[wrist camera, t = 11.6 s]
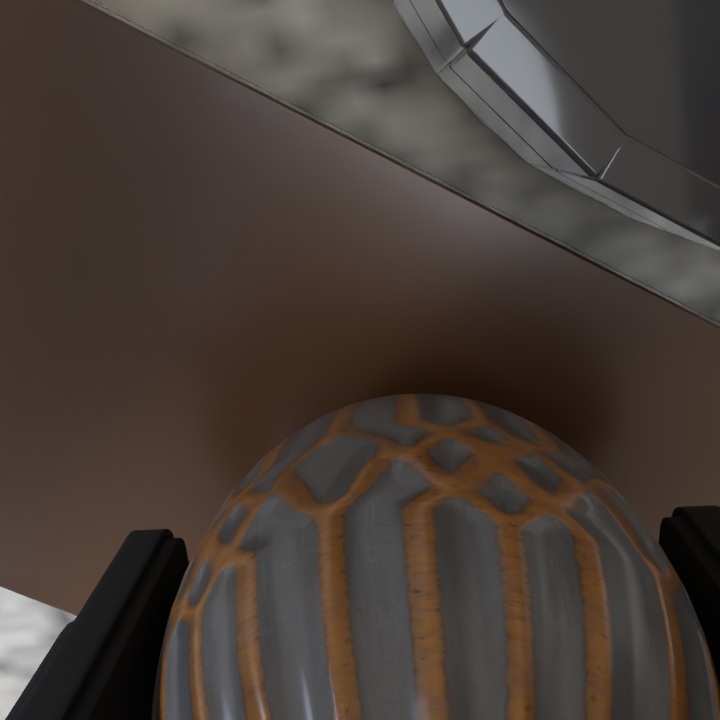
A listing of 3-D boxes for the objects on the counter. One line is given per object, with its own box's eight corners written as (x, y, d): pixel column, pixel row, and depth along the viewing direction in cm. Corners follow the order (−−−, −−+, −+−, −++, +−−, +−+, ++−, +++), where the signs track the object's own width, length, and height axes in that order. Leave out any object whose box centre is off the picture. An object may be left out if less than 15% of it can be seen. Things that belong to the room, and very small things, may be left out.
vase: (238, 317, 11) (-239, 948, 2) (640, 361, 11) (1480, 1125, 3) (225, 633, 13) (-35, 1486, 5) (554, 668, 13) (841, 1570, 5)
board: (-107, 485, 14) (-162, 525, 12) (22, -35, 10) (-35, -60, 9) (655, 787, 16) (681, 849, 15) (972, 452, 13) (1045, 493, 11)
